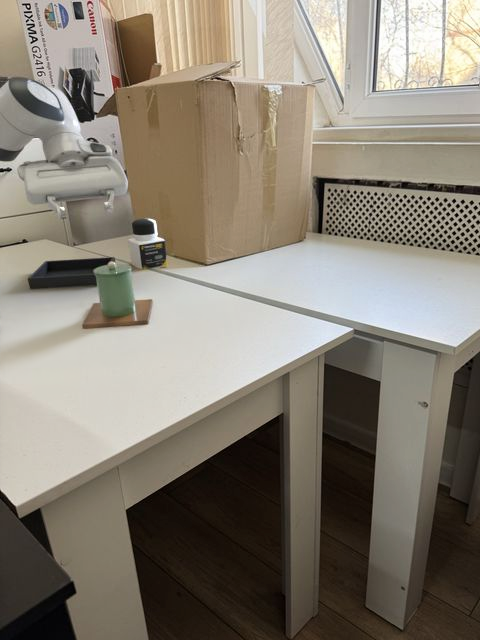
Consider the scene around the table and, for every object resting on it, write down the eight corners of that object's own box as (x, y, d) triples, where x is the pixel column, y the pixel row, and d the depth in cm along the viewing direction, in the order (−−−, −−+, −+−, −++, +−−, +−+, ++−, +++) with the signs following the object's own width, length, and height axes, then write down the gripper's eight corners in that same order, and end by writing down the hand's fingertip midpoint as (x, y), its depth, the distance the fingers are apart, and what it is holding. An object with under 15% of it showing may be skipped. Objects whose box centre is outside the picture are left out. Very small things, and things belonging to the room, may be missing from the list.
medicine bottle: (142, 271, 128) (136, 223, 123) (131, 266, 133) (124, 219, 128) (168, 266, 131) (162, 219, 126) (156, 261, 137) (150, 215, 132)
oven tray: (30, 291, 116) (27, 278, 114) (47, 272, 129) (45, 261, 128) (107, 286, 117) (105, 273, 116) (116, 268, 131) (114, 256, 130)
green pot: (98, 318, 97) (88, 267, 92) (103, 306, 103) (95, 257, 99) (135, 316, 97) (127, 265, 93) (139, 303, 104) (132, 255, 99)
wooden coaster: (82, 328, 94) (82, 324, 94) (94, 306, 105) (93, 303, 105) (148, 323, 96) (147, 320, 95) (152, 302, 106) (152, 299, 106)
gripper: (13, 152, 99) (31, 211, 96) (117, 145, 108) (136, 199, 104) (16, 173, 105) (33, 230, 101) (115, 165, 113) (133, 217, 110)
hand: (86, 214), depth 103 cm, fingers open, 8 cm apart
